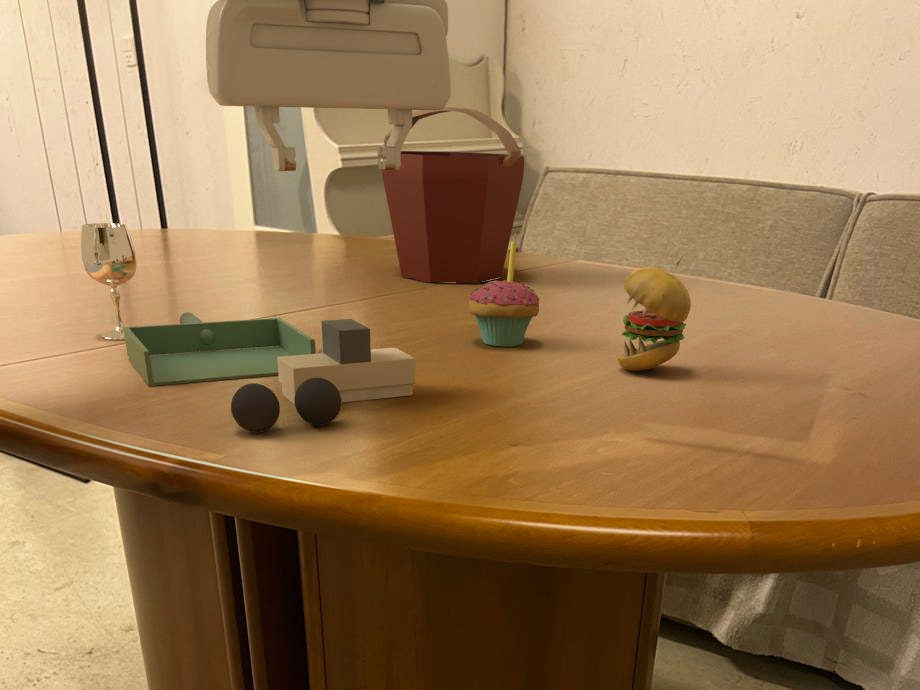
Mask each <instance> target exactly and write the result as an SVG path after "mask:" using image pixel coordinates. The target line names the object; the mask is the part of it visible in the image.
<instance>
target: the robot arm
mask: <svg viewBox="0 0 920 690" xmlns="http://www.w3.org/2000/svg"><path fill="white" fill-rule="evenodd" d="M448 6H449V5H448V3H447V0H217V1H215V2H214V3H213V4H212V6H211V7H210V9H209V11H208V14H207V18H206V25H205V26H206V27H205V63H206V64H205V66H206V81H207V87H208V92H209V94H210V95H211V97H212V99H214V100H215V102H216V103H217V104H218V105H220V106H221V107H249V108H252V107H254V113H255V123H256V125H257V126H258V128H259V130H260V131H261V133H262V135H263V137H264V138H265V140H266V142H267V143H268V145H269V146H270V147H271V152H272V154H271V155H272V165H273V169H274V171H275V172H276V171H277V172H294V171H296V170H297V162H296V160H295V158H296V147H295V146H286V145H285V143H284V141H283V139H282V137H281V136H280V133H279V132H278V130H277V129H276V127H275V125H274V124H279V123H280V108H310V109H311V108H312V109H314V108H315V109H355V110H357V109H360V110H363V109H366V110H387V122H388V125H393V128H392V129H393V130H392V129H391V130H392V132H391V135H390V137H389V140H388V142H387V144H386V146H387V147H385V146H377V157H378V160H377V167H378V169H379V170H381V171H382V170H400V167H401V152H400V151H401V148H402V147H403V145H404V143H405V141H406V139H407V138H408V135H409V133H410V132H411V130H412V128H413V127H412V113H413V111H422V110H442V109H444V107H446V106H447V104H448V102H449V101H450V99H451V96H452V81H451V66H450V57H449V50H448V49H449V48H448V42H447V41H448V40H447V36H448V34H449V33H448V31H449V8H448ZM411 127H412V128H411Z"/></svg>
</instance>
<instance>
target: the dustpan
mask: <svg viewBox="0 0 920 690" xmlns="http://www.w3.org/2000/svg"><path fill="white" fill-rule="evenodd" d="M123 329H124V335H125V348H126V354H127V357H128V360H129V362H130V363H131V364H132V366H133V367H134V368H135V370H136V371H137V372H138V374H139V376H141V378H142V379H143V380H144V382H145V383H146V384H147V385H148V387H156V386H167V385H168V386H169V384H170V385H180V384H179V383H181V384H188V383H187V382H193V383H199V382H198V381H205V382H214V381H213V380H216V381H227V379H228V380H237V379H238V378H239V379H249V378H259V377H260V378H261V377H262V376H263V377H272V376H273V377H274V376H279V373H278V360H277V357H280V356H293V355H306V354H317V353H316V340H315V338H312V337H311V336H310V335H308V334H306V333H305V332H303V331H301V330H300V329H298V328H297V327H295V325H292V324H291V323H289V322H287V321H286V320H284V319H283V318H281V317H270V318H269V317H268V318H253V319H251V318H250V319H237V320H220V321H219V320H218V321H202V319H200V318H199V317H197V316H196V315H195V314H194V313H192V312H187V311H186V312H184V313H182V314H181V315H180V317H179V323H170V324H169V323H168V324H154V325H138V326H137V325H136V326H124V327H123Z"/></svg>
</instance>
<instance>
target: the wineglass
mask: <svg viewBox="0 0 920 690" xmlns="http://www.w3.org/2000/svg"><path fill="white" fill-rule="evenodd" d="M80 236H81V238H80V251H81V259H82V263H83V266H84V269H85V272H86V273H87V275H88V276H89V277H90V278H91V279H92V280H94V281H96V282H98V283H100V284H102V285H105V286H108V287H111V289H110V294H109V295H110V298H111V301H112V303H113V307H114V310H115V317H116V326H115V328H114V329H113V330H111V331H109V332H105V333H103V334H101V338H102V339H105V340H111V341H112V340H113V341H123V340H125V335H124V329H123V327H125V326H124V324H123V321H122V317H121V310H120V300H121V295H120V292H119V290H118V286H121V285H123V284H126V283H127V282H129V281H130V280H131V279H133V278H134V276H135V274H136V271H137V255H136V251H135V246H134V243H133V240H132V237H131V235H130V232H129V229H128V226H127V225H126V224H124V223H112V222H111V223H110V222H108V223H107V222H105V223H104V222H102V223H101V222H99V223H96V222H95V223H87V224H82V225H81V234H80Z"/></svg>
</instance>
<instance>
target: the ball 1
mask: <svg viewBox="0 0 920 690" xmlns="http://www.w3.org/2000/svg"><path fill="white" fill-rule="evenodd" d="M230 412H231V415H232V417H233V419H234V421H235V422H236V424H237V425H238V426H239V427H240V428H242V429H243V430H245V431H247V432H249V433H264V432H267V431H269V430H271V428H273V427H274V426H275V424H277V422H278V421H279V418H280V414H281V405H280V401H279V399H278V397H277V395H276V393H275V392H274V391H273V390H272V389H271V388H269V387H268V386H266V385H265V384H262V383H257V382H256V383H255V382H254V383H253V382H252V383H247V384H244V385H242V386H241V387H239V388H238V389H237V390H236V391H235V392H234V394H233V395H232V397H231V402H230Z"/></svg>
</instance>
